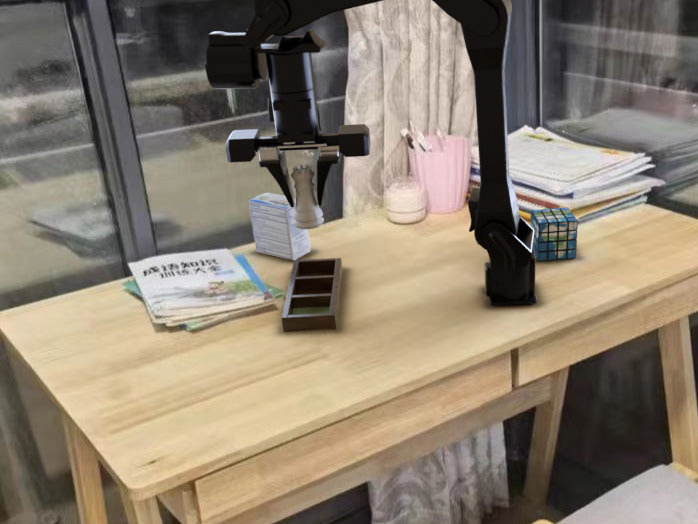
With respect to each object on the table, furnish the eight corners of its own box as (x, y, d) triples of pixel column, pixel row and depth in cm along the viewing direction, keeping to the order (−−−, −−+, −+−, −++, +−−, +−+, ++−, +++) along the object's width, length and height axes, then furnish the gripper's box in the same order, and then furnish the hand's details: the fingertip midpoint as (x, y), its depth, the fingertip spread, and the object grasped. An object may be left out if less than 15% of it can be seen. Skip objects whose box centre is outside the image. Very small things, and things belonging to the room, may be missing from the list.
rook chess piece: (331, 223, 132) (325, 166, 128) (306, 232, 129) (299, 175, 125) (310, 216, 135) (304, 160, 130) (286, 225, 132) (278, 168, 128)
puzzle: (576, 258, 144) (578, 220, 141) (537, 261, 144) (538, 223, 141) (566, 243, 149) (568, 206, 146) (529, 246, 149) (530, 209, 145)
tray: (342, 270, 143) (341, 257, 142) (336, 329, 127) (334, 315, 126) (295, 272, 143) (294, 259, 142) (283, 332, 127) (281, 317, 126)
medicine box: (311, 252, 150) (305, 198, 145) (293, 262, 147) (286, 208, 142) (273, 243, 153) (266, 191, 149) (255, 252, 150) (247, 199, 145)
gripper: (366, 70, 129) (375, 183, 137) (229, 77, 128) (247, 189, 137) (364, 90, 119) (373, 210, 128) (216, 97, 119) (235, 216, 128)
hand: (306, 205), depth 130 cm, fingers closed on rook chess piece, 3 cm apart
